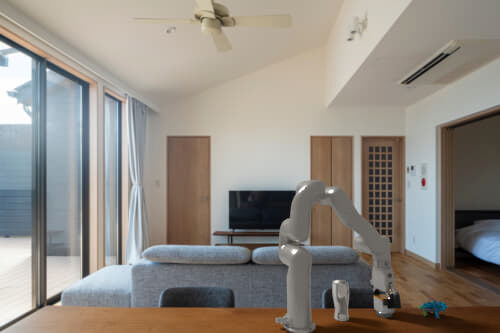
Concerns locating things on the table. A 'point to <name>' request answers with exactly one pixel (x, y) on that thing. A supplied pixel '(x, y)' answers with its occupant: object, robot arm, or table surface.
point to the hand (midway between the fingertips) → (383, 304)
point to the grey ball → (384, 315)
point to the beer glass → (341, 299)
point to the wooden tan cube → (382, 304)
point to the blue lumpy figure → (433, 307)
